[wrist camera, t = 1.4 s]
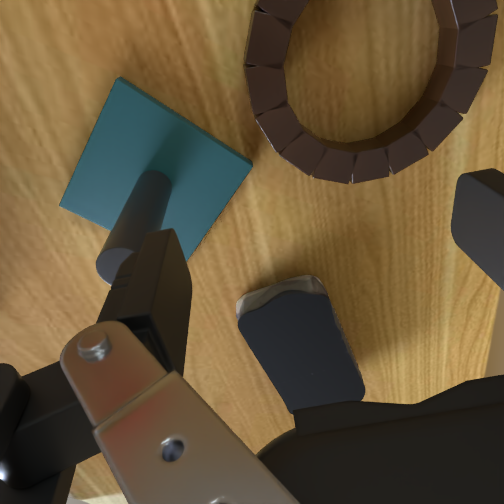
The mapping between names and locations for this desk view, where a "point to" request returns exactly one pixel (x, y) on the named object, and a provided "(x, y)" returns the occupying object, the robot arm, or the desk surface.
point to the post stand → (150, 176)
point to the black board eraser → (300, 343)
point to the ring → (397, 137)
